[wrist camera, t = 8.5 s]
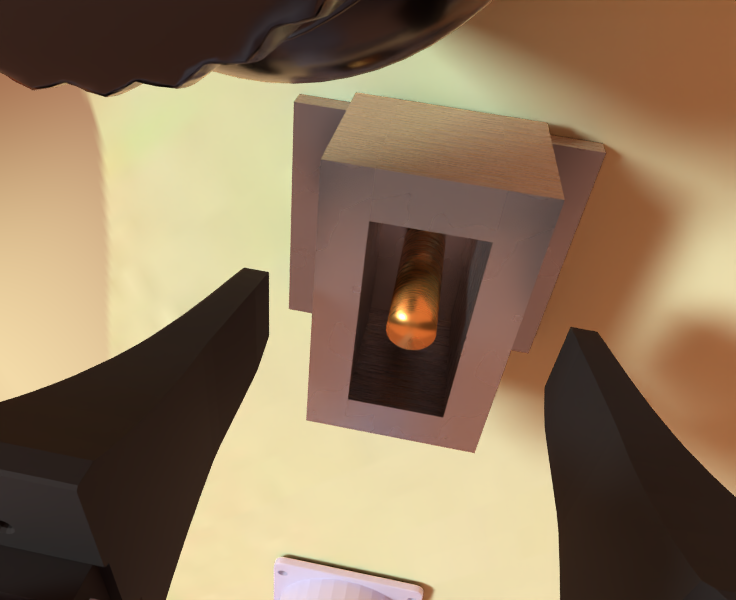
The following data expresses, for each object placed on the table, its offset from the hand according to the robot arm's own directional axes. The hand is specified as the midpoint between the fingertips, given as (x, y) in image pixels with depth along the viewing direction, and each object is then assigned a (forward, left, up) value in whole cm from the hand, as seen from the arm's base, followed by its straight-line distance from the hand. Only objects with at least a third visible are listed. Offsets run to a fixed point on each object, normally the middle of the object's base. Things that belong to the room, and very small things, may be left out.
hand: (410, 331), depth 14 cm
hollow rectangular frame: (0, 0, -4) cm, 4 cm away
